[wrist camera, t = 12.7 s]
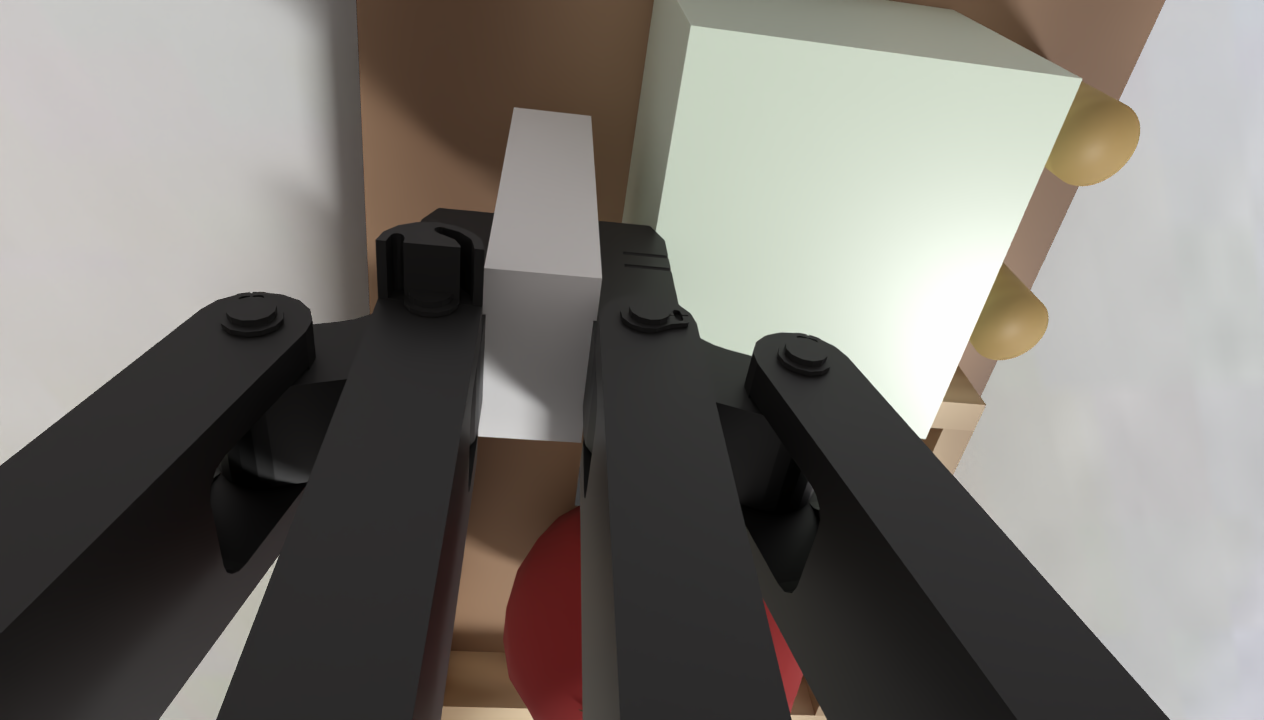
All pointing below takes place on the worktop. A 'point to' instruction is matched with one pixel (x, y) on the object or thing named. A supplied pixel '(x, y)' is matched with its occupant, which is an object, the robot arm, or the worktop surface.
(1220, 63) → the worktop surface
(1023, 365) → the worktop surface
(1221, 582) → the worktop surface
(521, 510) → the housing base
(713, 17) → the block
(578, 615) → the tomato
